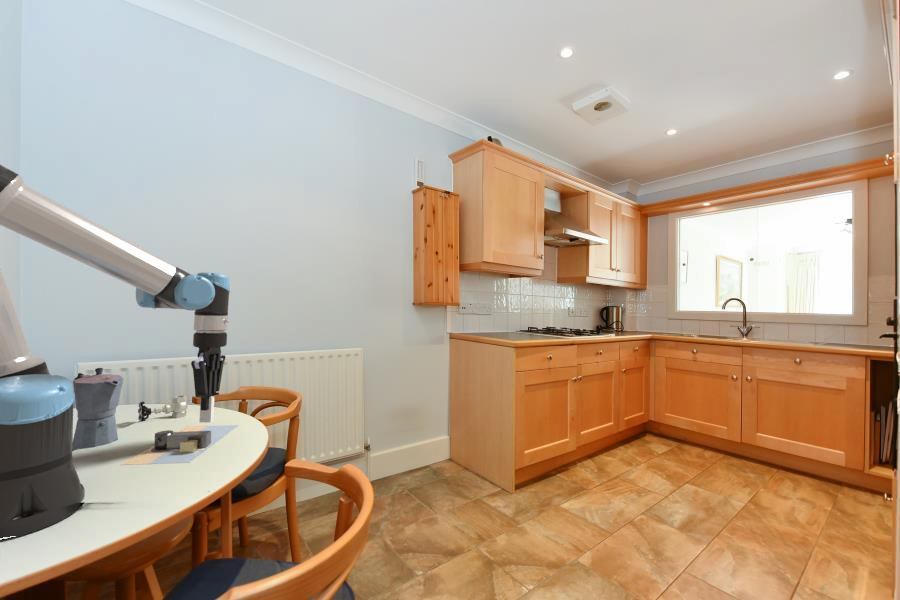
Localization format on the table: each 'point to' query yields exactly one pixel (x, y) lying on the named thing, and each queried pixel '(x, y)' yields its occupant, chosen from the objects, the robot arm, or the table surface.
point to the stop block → (188, 446)
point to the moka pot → (96, 409)
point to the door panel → (174, 454)
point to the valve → (166, 408)
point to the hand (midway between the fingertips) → (206, 421)
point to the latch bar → (180, 439)
